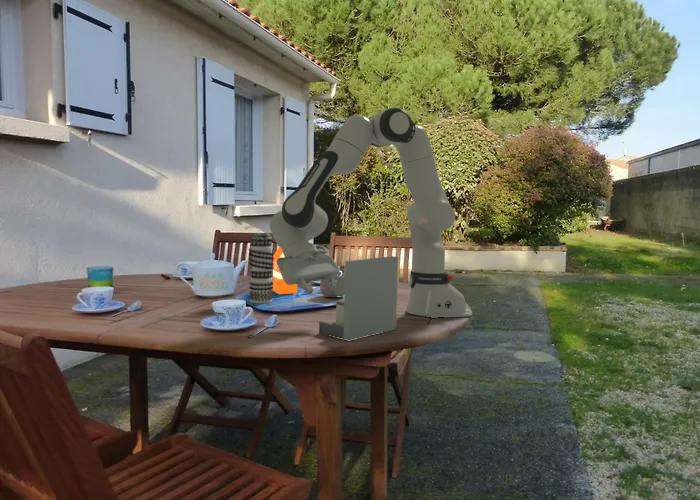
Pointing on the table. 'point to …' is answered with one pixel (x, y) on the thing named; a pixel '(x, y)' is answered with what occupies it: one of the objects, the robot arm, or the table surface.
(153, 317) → the table surface
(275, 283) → the orange juice
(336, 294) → the teacup
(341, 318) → the grey tea canister
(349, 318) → the wall board
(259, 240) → the decorative candle
